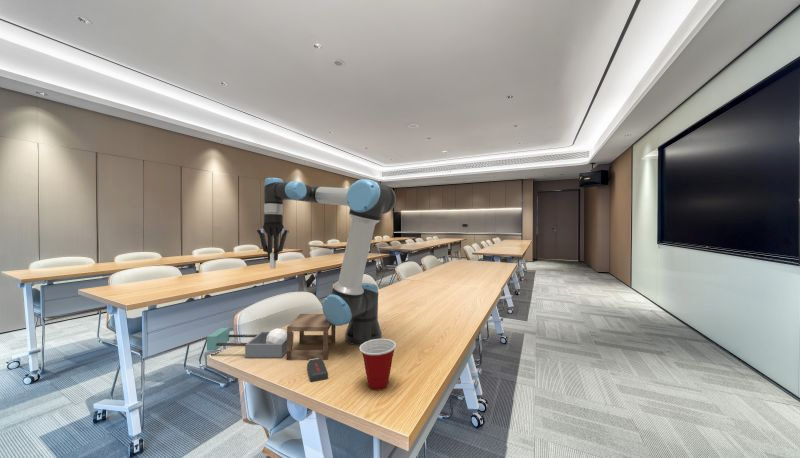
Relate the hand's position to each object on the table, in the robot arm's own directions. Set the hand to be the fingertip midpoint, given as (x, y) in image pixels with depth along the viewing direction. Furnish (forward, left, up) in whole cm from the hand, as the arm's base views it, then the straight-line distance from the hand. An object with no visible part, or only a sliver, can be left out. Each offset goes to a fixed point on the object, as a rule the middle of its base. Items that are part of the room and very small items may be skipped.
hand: (272, 268), depth 125 cm
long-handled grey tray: (0, +18, -28) cm, 33 cm away
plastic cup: (-47, +42, -29) cm, 70 cm away
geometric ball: (-9, +17, -29) cm, 34 cm away
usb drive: (-28, +34, -29) cm, 53 cm away
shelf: (-22, +18, -28) cm, 40 cm away
